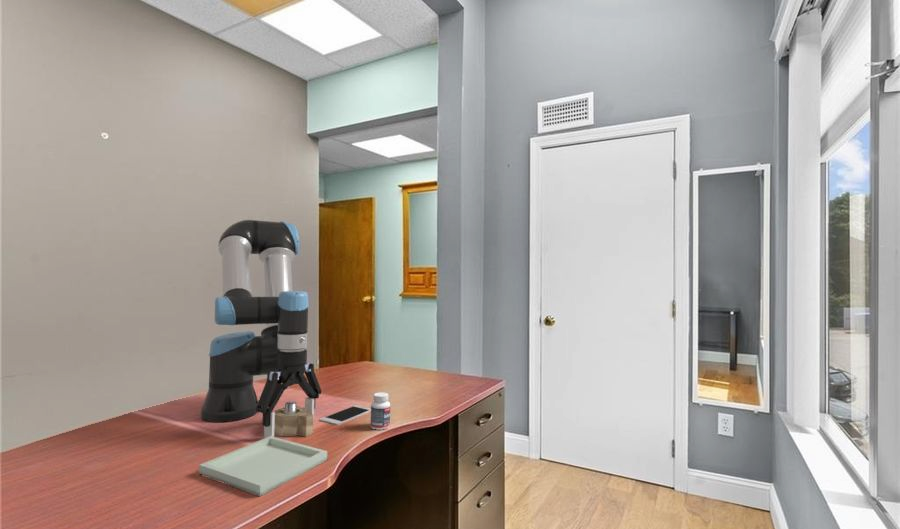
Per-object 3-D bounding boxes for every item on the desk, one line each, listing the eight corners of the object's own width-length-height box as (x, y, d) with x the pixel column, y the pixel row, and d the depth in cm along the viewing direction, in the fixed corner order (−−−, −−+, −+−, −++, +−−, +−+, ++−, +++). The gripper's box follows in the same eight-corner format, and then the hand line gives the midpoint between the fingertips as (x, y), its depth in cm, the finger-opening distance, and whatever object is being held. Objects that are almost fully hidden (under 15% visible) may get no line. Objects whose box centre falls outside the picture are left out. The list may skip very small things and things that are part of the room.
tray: (199, 474, 90) (199, 464, 90) (270, 444, 106) (270, 436, 106) (260, 496, 82) (260, 485, 82) (327, 460, 98) (327, 451, 98)
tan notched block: (267, 432, 113) (267, 413, 113) (290, 423, 120) (291, 404, 121) (297, 440, 108) (298, 420, 109) (320, 430, 116) (321, 411, 116)
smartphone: (318, 422, 123) (318, 418, 123) (355, 407, 137) (355, 404, 137) (337, 426, 120) (337, 423, 120) (373, 411, 133) (373, 408, 133)
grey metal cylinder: (282, 431, 114) (282, 403, 115) (290, 427, 117) (291, 400, 117) (289, 432, 113) (290, 405, 113) (297, 429, 116) (298, 402, 116)
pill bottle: (385, 431, 116) (386, 397, 116) (367, 429, 117) (368, 396, 117) (392, 424, 121) (393, 392, 121) (374, 422, 122) (375, 391, 122)
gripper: (263, 358, 103) (260, 449, 102) (335, 344, 125) (333, 418, 124) (241, 355, 106) (238, 443, 105) (315, 341, 128) (313, 414, 128)
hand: (290, 429), depth 115 cm, fingers open, 13 cm apart
